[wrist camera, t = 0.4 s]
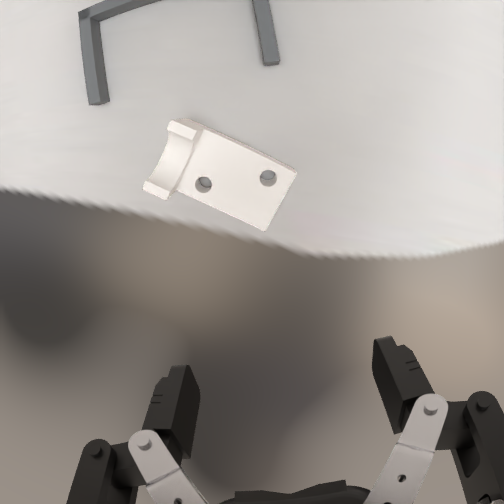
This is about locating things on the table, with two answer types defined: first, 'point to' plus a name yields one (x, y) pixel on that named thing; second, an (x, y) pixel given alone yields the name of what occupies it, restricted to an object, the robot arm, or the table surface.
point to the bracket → (220, 173)
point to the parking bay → (119, 3)
